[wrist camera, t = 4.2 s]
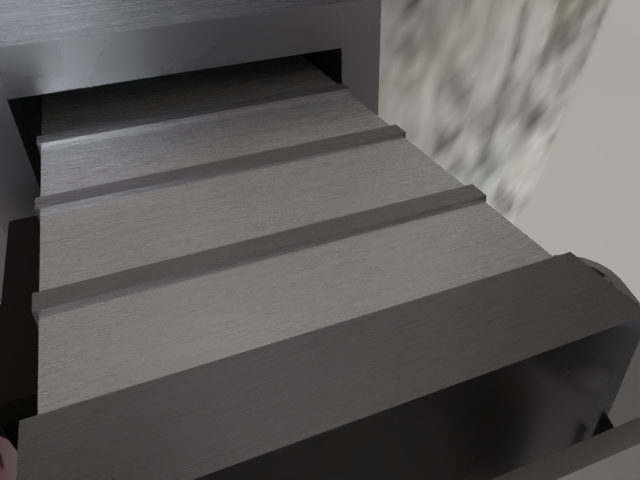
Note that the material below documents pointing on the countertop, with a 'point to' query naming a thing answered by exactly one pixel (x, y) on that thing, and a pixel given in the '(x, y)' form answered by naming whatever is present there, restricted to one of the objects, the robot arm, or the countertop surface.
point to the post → (293, 296)
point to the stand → (157, 59)
